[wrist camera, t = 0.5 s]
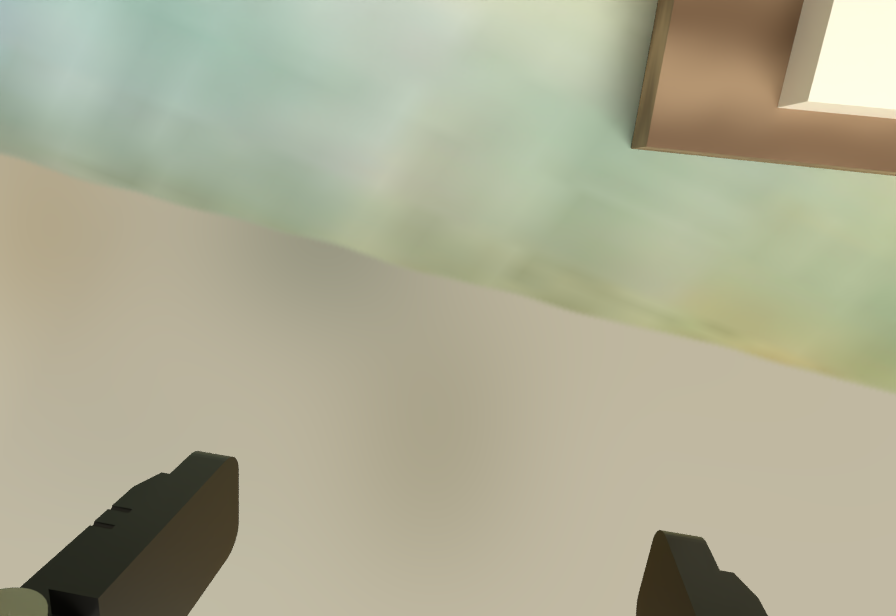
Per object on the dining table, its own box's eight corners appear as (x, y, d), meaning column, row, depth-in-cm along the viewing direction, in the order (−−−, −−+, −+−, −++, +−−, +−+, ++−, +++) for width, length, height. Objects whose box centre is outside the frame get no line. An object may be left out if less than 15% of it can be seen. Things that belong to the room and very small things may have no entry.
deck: (681, -126, 29) (707, -170, 25) (1093, -102, 27) (1187, -144, 24) (631, 148, 33) (646, 146, 29) (990, 185, 31) (1058, 188, 27)
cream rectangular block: (828, -98, 25) (868, -132, 23) (967, -90, 25) (1026, -123, 22) (777, 107, 28) (807, 101, 25) (903, 119, 27) (949, 114, 24)
